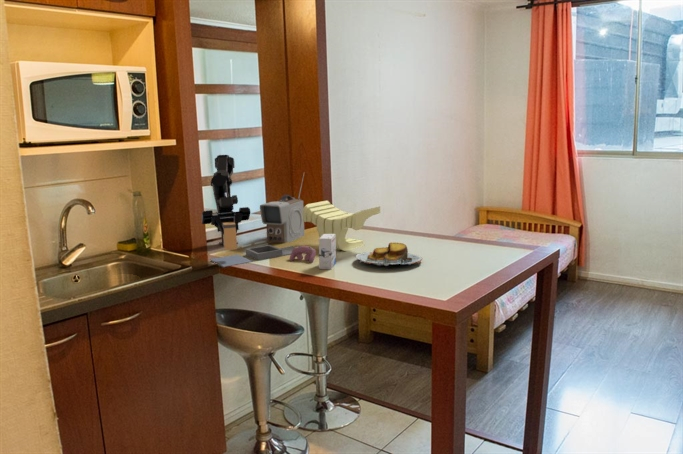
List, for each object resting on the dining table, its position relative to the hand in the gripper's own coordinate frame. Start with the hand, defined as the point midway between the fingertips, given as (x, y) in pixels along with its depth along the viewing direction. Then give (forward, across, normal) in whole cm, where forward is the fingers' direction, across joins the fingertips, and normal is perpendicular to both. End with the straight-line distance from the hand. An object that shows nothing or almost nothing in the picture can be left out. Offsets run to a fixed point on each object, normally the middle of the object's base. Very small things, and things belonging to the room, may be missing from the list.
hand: (230, 233), depth 223 cm
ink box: (+24, +32, -8) cm, 41 cm away
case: (+5, +19, +11) cm, 23 cm away
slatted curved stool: (+5, +48, +12) cm, 50 cm away
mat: (+7, 0, +9) cm, 12 cm away
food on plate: (+28, +54, -11) cm, 62 cm away
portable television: (-12, +31, +29) cm, 44 cm away
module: (+4, 0, +6) cm, 7 cm away
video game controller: (+16, +26, +1) cm, 30 cm away
